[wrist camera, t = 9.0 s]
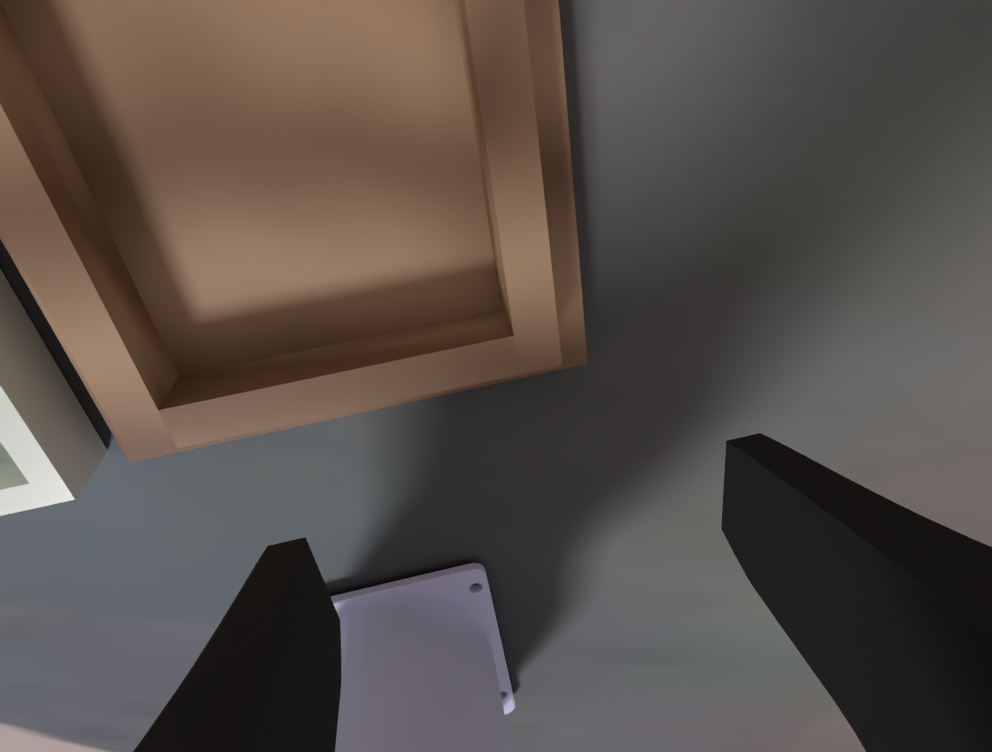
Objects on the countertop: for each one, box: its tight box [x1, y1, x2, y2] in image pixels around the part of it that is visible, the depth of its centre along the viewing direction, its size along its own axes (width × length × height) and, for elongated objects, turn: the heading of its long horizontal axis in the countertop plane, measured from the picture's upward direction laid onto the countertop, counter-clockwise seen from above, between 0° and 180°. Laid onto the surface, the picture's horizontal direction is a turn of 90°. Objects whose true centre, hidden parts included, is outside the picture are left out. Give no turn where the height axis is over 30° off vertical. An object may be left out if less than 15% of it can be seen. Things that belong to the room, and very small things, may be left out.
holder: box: [0, 0, 588, 463], centre depth 14 cm, size 14×14×3 cm
